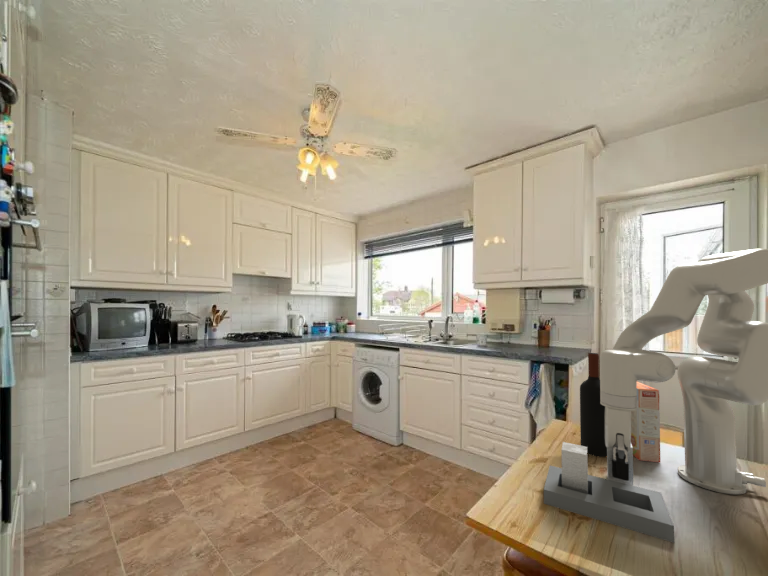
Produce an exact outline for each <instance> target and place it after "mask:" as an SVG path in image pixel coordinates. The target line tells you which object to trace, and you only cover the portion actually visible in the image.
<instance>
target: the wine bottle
mask: <svg viewBox="0 0 768 576" xmlns="http://www.w3.org/2000/svg"><path fill="white" fill-rule="evenodd" d="M587 359H588V360H587V361H588V363H587V364H588V375H587V376H588V377H587V379H586V380H584V381H582V383H581V384H580V385H579V412H580V413H579V414H580V415H579V417H580V418H579V421H580V423H579V425H580V428H579V429H580V433H579V434H580V445H581V446H585V447H587V453H588V454H587V455H589V454H590V455H589V456H593V455H594V456H593V457H597V456H599V458H607V457H606V456H607V447H606V445H605V406H603V405H601V404H600V353H599V352H588V354H587Z"/></svg>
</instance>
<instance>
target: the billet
mask: <svg viewBox="0 0 768 576" xmlns="http://www.w3.org/2000/svg"><path fill="white" fill-rule="evenodd" d="M588 455H589V454H587V447H585V446H581V444H576V443H575V444H574V443H570V442H565V441H562V446H561V468H562V487H563V488H566V489H570V490H574V491H577V492H581V493H585V494H588V475H589V471H588V469H589V464H588V463H589V462H588V460H589V459H588V458H589V457H588Z"/></svg>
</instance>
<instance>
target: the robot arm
mask: <svg viewBox="0 0 768 576" xmlns="http://www.w3.org/2000/svg"><path fill="white" fill-rule="evenodd" d="M766 284H768V248H753V249H752V248H751V249H746V250H737V251H730V252H724V253H715V254H711V255H707V256H704V257H701V258H700V259H699V260H698V261H697V262H689V263H683V264H680V265H677V266H675V267H674V268H673V269H672V270H670V272H669V274H668V275H667V277H666V280H665V282H664V283H663V285H662V287H661V289H660V291H659V293H658V295H657V297H656V298H655V301H654V302H653V304H652V306H651V308H650V310H649V311H648V312H646V313H645V314H643V315H641V316H640V317H638V318H637V319H635V321H634V322H632V323H631V324H629V325H627V327H626V328H624V330H623V331H622V332H621V333H620V335H619V336H618V338H617V340H616V342H615V344H614V345H613V348H612V349H606V350H602V351H601V352H600V353H599V379H600V404H601V405H603V406H605V445H606V447H607V448H608V449H609V448H613V459H612V476H613V477H614V478H618V479H622V480H626V481H628V480H629V463H628V458H627V453H628V452H630V448H631V411H634V410H637V382H639V381H643V382H649V383H665V382H668V381H669V380H671V379H672V378H673V377H674V375H675V374H676V373H677V379H678V382H679V386H680V390H681V394H682V401H683V402H682V403H683V404H682V405H683V406H682V407H683V432H684V433H683V435H684V436H683V438H684V464H681V465H679V466H678V467H677V474H678V475H679V476H680V477H681V478H682V479H684V480H685V481H687V482H688V483H690V484H693V485H696V486H698V487H700V488H703V489H706V490H709V491H713V492H716V493H722V494H727V495H736V496H737V495H743V494H746V493H747V485H748V484H749V485H754V486H757V487H758V486H759V487H762V488H766V487H767V481H766V479H765V478H764V477H760V476H754V474H753V473H751V472H744V471H741V470H740V469H739V468H738V467H737V443H736V441H737V440H736V417H735V412H734V409H732V406H731V404H730V402H729V401H731V402H733V403H734V402H735V403H737V404H738V403H739V404H744V405H748V406H759V405H763V404H764V403H766V402H768V322H766V321H759V320H752V318H753V314H754V312H755V304H754V301H753V299H752V298H751V296H750V295H749V294H748V293H747V292H746V291H748V290H751V289H755V288H758V287H760V286H763V285H766ZM706 296H707V298H708V303H707V307H706V311H705V314H704V316H703V319H702V322H701V325H700V328H699V331H698V334H697V338H696V342H697V345H698V347H699V348H700V349H701V350H702V351H703V352H706V353H708V354H712V355H716V356H721V357H727V358H728V357H729V358H735V359H738V360H737V361H734V360H727V359H726V360H725V359H720V358H714V357H707V356H690V357H687V358H685V359H683V360H682V361H680V363H679V365H678V367H677V372H676V365H675V362H674V360H672V359H671V357H669V356H668V355H666V354H664V353H662V352H658V351H652V350H647V349H644V347H645V346H646V345H647V344H648V343H649V342H650V341H652V340H653V339H655V338H658V337H660V336H663V335H666V334H669V333H672V332H676V331H679V330H681V329H684V328H686V327H688V326H689V325H691V323H692V322H693V319H695V316H696V313H697V312H698V309H699V307H700V306H701V303H702V302H703V301H704V298H705V297H706ZM616 438H617V439H616ZM615 446H618V447H615ZM624 447H625V449H624ZM627 447H628V448H627ZM616 451H618V452H616Z"/></svg>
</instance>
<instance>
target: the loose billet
mask: <svg viewBox="0 0 768 576" xmlns="http://www.w3.org/2000/svg"><path fill="white" fill-rule="evenodd" d="M616 439H617V438H616ZM615 447H618V446H615ZM627 448H628V447H627ZM624 449H625V447H624ZM616 452H618V451H616ZM627 458H628V463H629V480H628V481H626V480H622V479H618V478H614V477H613V476H612V459H613V448H609V449H608V448H607V457H606V474H607V475H606V476H607V479H608V480H612V481H616V482H620V483H624V484H629V485H633V486H635V485H634V456H633V447H632V444H631V448H630V452H628V453H627Z"/></svg>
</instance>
